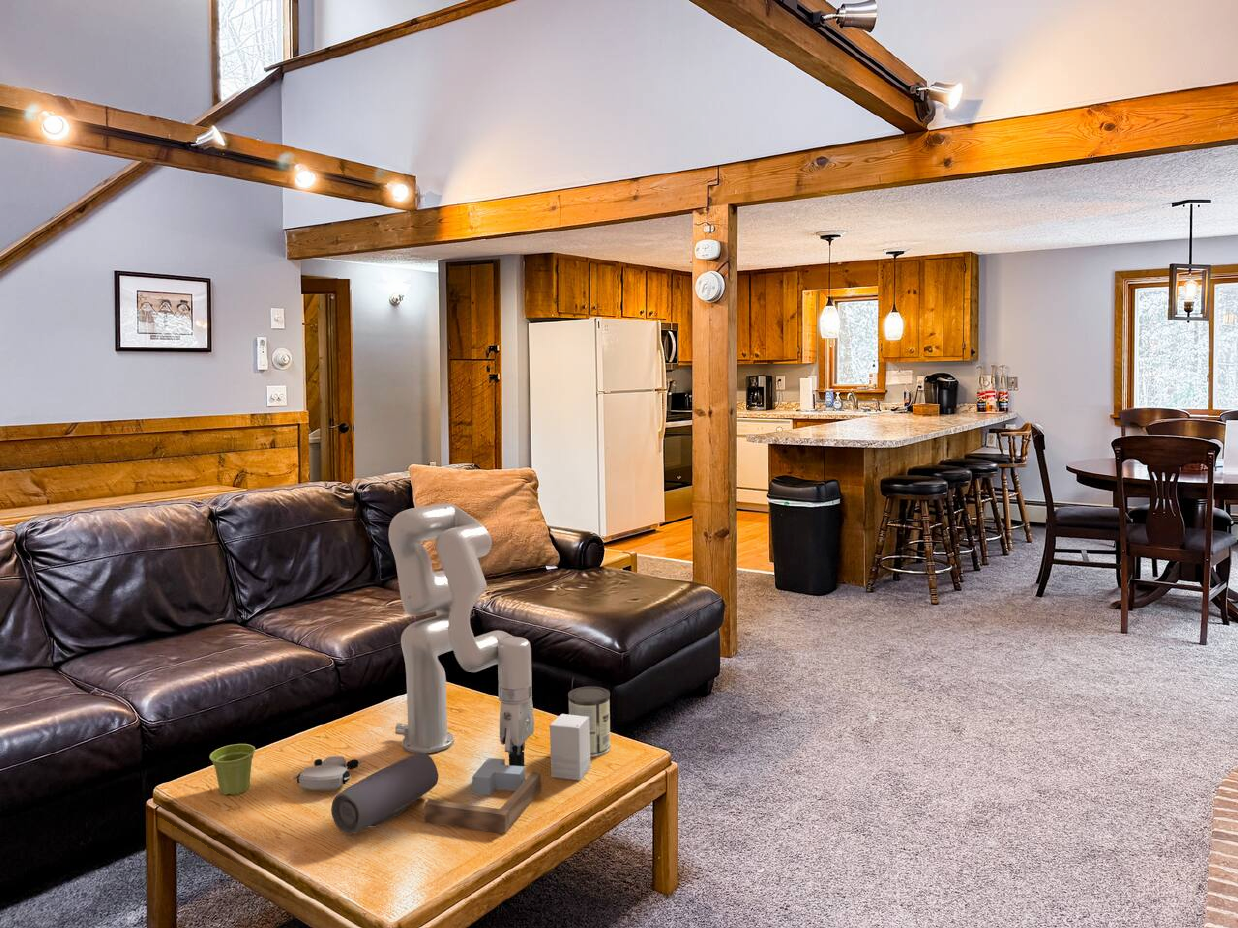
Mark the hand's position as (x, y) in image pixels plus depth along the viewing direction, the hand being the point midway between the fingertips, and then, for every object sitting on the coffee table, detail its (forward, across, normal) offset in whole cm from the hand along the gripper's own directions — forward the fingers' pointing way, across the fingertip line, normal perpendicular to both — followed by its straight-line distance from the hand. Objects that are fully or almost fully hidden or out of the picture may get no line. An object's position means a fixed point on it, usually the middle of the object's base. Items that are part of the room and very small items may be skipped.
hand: (516, 768), depth 209 cm
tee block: (+1, -7, +2) cm, 7 cm away
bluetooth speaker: (+1, -26, +19) cm, 32 cm away
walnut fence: (+1, -16, 0) cm, 16 cm away
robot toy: (+2, -15, +40) cm, 43 cm away
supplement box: (+1, +4, -12) cm, 13 cm away
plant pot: (+1, -24, +58) cm, 63 cm away
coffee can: (+1, +18, -12) cm, 21 cm away
